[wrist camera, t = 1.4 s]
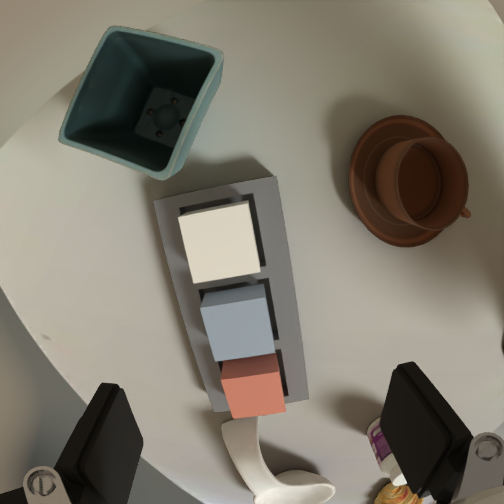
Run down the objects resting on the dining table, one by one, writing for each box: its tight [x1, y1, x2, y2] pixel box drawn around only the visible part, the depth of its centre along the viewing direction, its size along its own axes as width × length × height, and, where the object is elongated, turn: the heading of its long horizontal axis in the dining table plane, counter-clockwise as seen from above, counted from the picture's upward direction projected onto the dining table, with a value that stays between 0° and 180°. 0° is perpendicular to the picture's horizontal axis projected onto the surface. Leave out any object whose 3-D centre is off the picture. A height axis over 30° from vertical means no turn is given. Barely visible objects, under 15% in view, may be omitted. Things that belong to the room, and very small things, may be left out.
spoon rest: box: [221, 416, 335, 504], centre depth 31 cm, size 24×12×7 cm, turn 27°
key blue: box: [200, 284, 275, 361], centre depth 25 cm, size 5×5×3 cm
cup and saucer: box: [348, 115, 471, 247], centre depth 23 cm, size 12×12×6 cm
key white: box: [178, 200, 260, 283], centre depth 23 cm, size 5×5×3 cm
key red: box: [221, 353, 286, 419], centre depth 26 cm, size 5×5×3 cm
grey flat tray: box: [153, 176, 309, 412], centre depth 27 cm, size 10×22×2 cm, turn 10°
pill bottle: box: [367, 417, 407, 486], centre depth 28 cm, size 5×5×10 cm
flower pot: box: [58, 26, 224, 180], centre depth 20 cm, size 9×9×9 cm
